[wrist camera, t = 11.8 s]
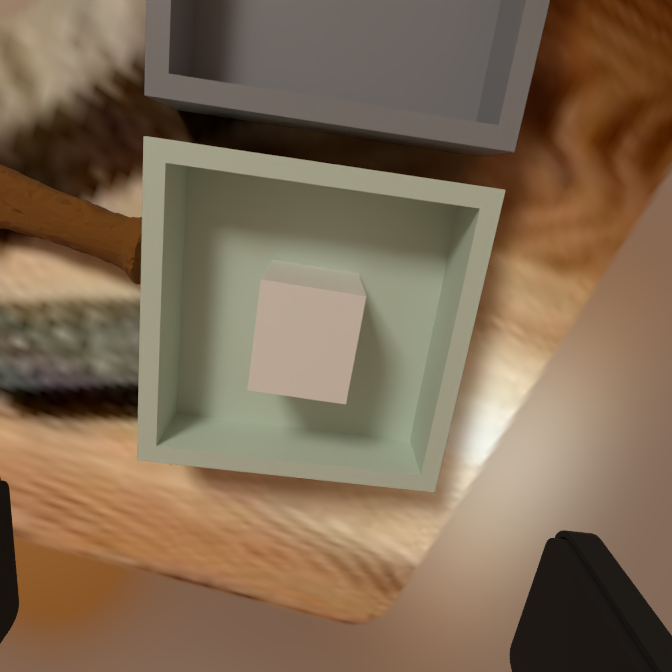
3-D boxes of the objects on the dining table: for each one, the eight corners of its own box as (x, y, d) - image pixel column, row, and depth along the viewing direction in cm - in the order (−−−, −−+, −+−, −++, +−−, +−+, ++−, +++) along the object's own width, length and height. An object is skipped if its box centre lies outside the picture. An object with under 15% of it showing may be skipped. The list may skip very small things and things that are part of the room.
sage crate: (176, 143, 24) (143, 135, 20) (474, 187, 25) (505, 189, 21) (165, 417, 29) (137, 460, 24) (418, 446, 30) (434, 492, 25)
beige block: (273, 259, 25) (260, 279, 20) (358, 273, 25) (366, 296, 20) (261, 351, 26) (247, 390, 22) (342, 363, 27) (345, 404, 22)
